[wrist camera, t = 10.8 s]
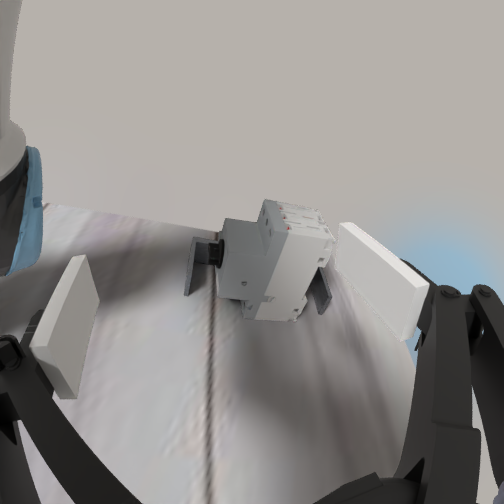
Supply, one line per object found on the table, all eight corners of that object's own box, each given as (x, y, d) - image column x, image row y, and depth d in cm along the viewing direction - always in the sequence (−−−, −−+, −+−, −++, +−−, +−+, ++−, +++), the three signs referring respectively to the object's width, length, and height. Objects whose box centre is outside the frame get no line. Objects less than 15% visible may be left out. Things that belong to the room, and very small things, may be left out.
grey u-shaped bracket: (183, 295, 45) (187, 275, 42) (189, 256, 52) (193, 236, 50) (322, 314, 49) (332, 297, 47) (310, 276, 56) (319, 259, 54)
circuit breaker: (199, 278, 48) (218, 191, 40) (285, 287, 52) (319, 209, 44) (199, 314, 43) (221, 222, 34) (295, 322, 46) (337, 241, 38)
